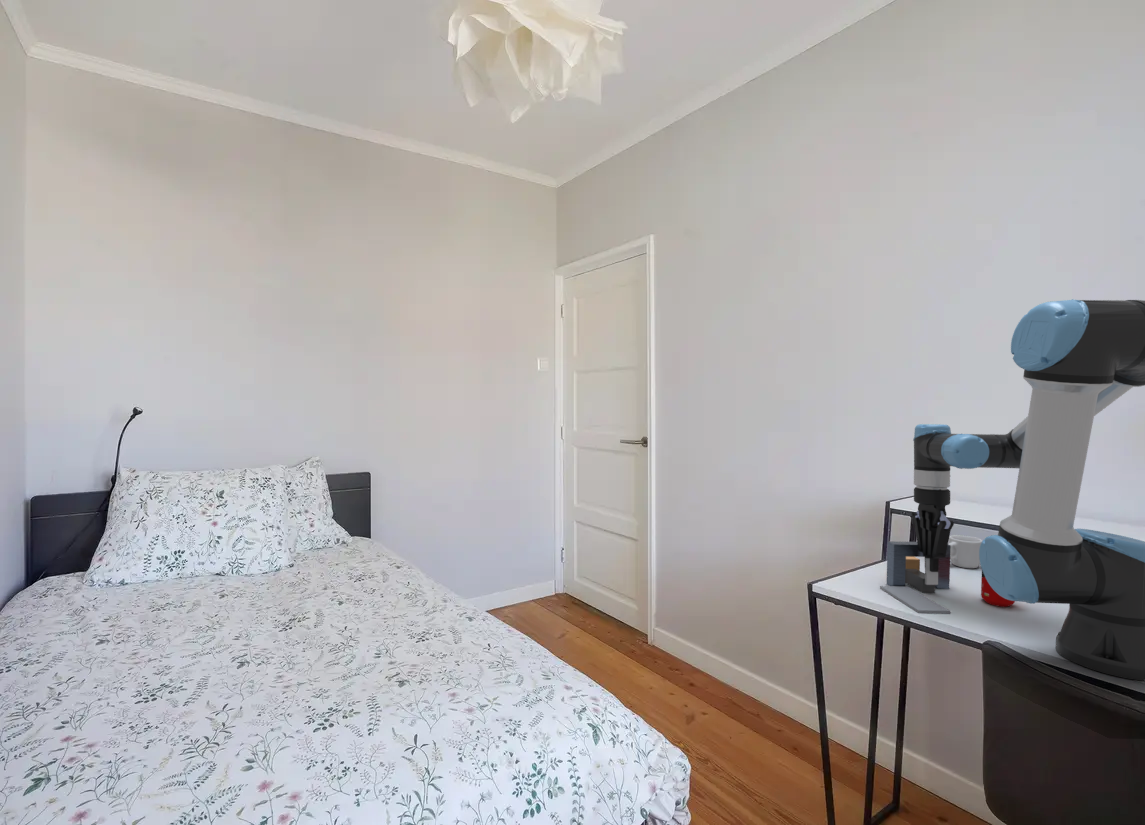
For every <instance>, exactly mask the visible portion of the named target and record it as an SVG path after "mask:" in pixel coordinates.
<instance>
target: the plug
mask: <svg viewBox="0 0 1145 825" xmlns="http://www.w3.org/2000/svg"><path fill="white" fill-rule="evenodd" d="M920 567H921V559H920V558H919V557H906V572H905V585H908V586H909V587H910V588H912V589H914V590H916V591H917V592H919V593H921V594H935V593H936V588H935V585H926V584H925V572H922V571H921V568H920Z"/></svg>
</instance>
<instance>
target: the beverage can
mask: <svg viewBox="0 0 1145 825" xmlns="http://www.w3.org/2000/svg"><path fill="white" fill-rule="evenodd" d="M980 586H981V587H980V597H981V599H982V600H984V601H985V603H987V604H989V605H992V606H997V607H1002V608H1003V607H1005V608H1007V607H1010V606H1012V605H1014V604H1015V602H1016V601H1011V600H1007V599H1005V598H1003V597H1001V596H1000V595H999V594H997V593H996V592H995V591H994V590H993V589H992V587H991V586H990V585H989V583H988V582H987V580H986V578H985V575H984V574H983V571H982V570H981V582H980Z"/></svg>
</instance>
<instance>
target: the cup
mask: <svg viewBox="0 0 1145 825" xmlns="http://www.w3.org/2000/svg"><path fill="white" fill-rule="evenodd" d="M983 540H984V539H981V538H979V537H975V536H970V535H969V536H968V535H962V534H952V535H950V536H949V541H948V544H949V545H951V548H950V562H951V563H952V564H953V565H954V566H956V567H959V568H964V569H976V568H979V566H980V559H979V549H980V545H981V542H982V541H983Z"/></svg>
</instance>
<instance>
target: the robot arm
mask: <svg viewBox="0 0 1145 825" xmlns="http://www.w3.org/2000/svg"><path fill="white" fill-rule="evenodd" d="M1010 341H1011V342H1010V354H1011V355H1012V360H1013V362H1014V363H1015V365H1016V366H1018V367H1019V368H1021V369H1023V370H1024V371H1023V376H1022V377H1023V379H1024V380H1025V382H1026V383H1028V385H1029V386H1030V387H1031V394H1030V400H1029V409H1028V413H1027V416H1026V417H1025V418H1024V419H1023V420H1022V421H1021V422H1019V423H1018V424H1017V425H1016V426H1015V427H1014V428H1013V429H1011V430H1009V432H1008V433H1005V434H998V433H997V434H995V433H990V434H984V433H983V434H982V433H981V434H980V433H977V434H975V433H952V432H951V431H952V430H951V427H950V426H949V425H948V424H941V423H940V424H938V423H936V424H934V423H932V424H929V423H926V424H925V423H924V424H923V423H922V424H920V423H919V424H917V425H915V427H914V432H913V433H914V436H913V440H912V441H913V468H914V469H913V485H914V486H915V487H914V488H913V501H914V502H915V503H916V504H918V506H917V511H912V512H911V517H912V521H913V523H914V524H913V525H914V531H915V537H916V542H917V544H918V550H919V552H922V553H923V556H925V557H924V573H925V584H926V585H938V569H939V558H945V556H946V551H947V546H948V543H949V536H951V531H952V529H953V527H954V526H955V523H954V521H953V520H949V519H948V517H947V512H946V507H947V506H949V505H950V504H951V490H950V489H948V488H950V487H951V467H954V468H957V469H961V470H962V469H964V470H965V469H967V470H971V469H972V470H973V469H977V468H985V469H988V468H989V469H991V468H992V469H993V468H994V469H996V468H997V469H1018V476H1017V480H1016V487H1015V494H1014V499H1013V504H1012V505H1013V506H1012V511H1011V512H1012V513H1011V515H1009V516H1007V517H1004V518H1003V519H1001V520H1000V521H999V522H1000V523H999V525H998V526H999V528H998V532H997V534H991V535H989V536H986V537H985V538H984V539H982V540H983V541H982V542H981V545H980V549H979V559H980V564H979V566H980V568H981V572H982V571H983V574H984V575H985V578H986V580H987V582H988V583H989V585H990V586H991V587H992V589H993V590H994V591H995V592H996V593H997V594H999V595H1000V596H1001V597H1003V598H1005V599H1007V600H1011V601H1015V602H1020V603H1021V602H1022V603H1026V604H1060V605H1062V604H1063V605H1069V606H1068V612H1067V614H1066V616H1065V619H1064V620H1063V623H1062V626H1061V629H1060V631H1059V632H1058V633H1057V634H1056V636H1055V650H1056V652H1057V653H1058V654H1059V655H1060V656H1062V657H1063V658H1065V659H1067V660H1069V661H1071V662H1073V663H1074V664H1077V665H1079V666H1083V667H1085V668H1088V669H1090V670H1094V671H1097V672H1100V673H1103V674H1106V675H1110V676H1115V677H1118V678H1124V679H1129V680H1136V681H1143V680H1145V541H1143V540H1140V539H1136V538H1133V537H1128V536H1125V535H1120V534H1114V533H1110V532H1105V531H1099V530H1095V529H1087V528H1074V524H1075V520H1076V514H1077V509H1078V503H1079V500H1080V493H1081V489H1082V488H1081V486H1082V481H1083V476H1084V471H1085V466H1086V461H1087V456H1088V449H1089V446H1090V441H1091V440H1090V439H1091V435H1092V429H1093V423H1094V419H1095V416H1097V415H1098V414H1100V413H1101V412H1102V411H1104V410H1105V409H1106V408H1107V407H1109V406H1110V405H1111V404H1113V403H1114V402H1116V400H1118V399H1119V398H1120V397H1122V396H1123V395H1124V394H1126V393H1127V392H1129V391H1130V390H1131V389H1133V388H1140V387H1145V300H1142V299H1127V300H1124V299H1123V300H1122V299H1121V300H1118V299H1116V300H1112V299H1111V300H1109V299H1108V300H1107V299H1106V300H1105V299H1103V300H1102V299H1100V300H1098V299H1095V300H1094V299H1090V300H1089V299H1074V298H1073V299H1063V300H1054V301H1053V300H1052V301H1045V302H1043V303H1042V302H1041V303H1039V304H1037V305H1035V306H1034V307H1032V308H1031V309H1030V310H1029V311H1028V312H1027V313H1026V314H1024V315H1023V316H1022V317H1021V319H1020V320H1019V321H1018V323H1017V324H1016V327H1015V329H1014V331H1013V333H1012V337H1011V340H1010Z"/></svg>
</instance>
